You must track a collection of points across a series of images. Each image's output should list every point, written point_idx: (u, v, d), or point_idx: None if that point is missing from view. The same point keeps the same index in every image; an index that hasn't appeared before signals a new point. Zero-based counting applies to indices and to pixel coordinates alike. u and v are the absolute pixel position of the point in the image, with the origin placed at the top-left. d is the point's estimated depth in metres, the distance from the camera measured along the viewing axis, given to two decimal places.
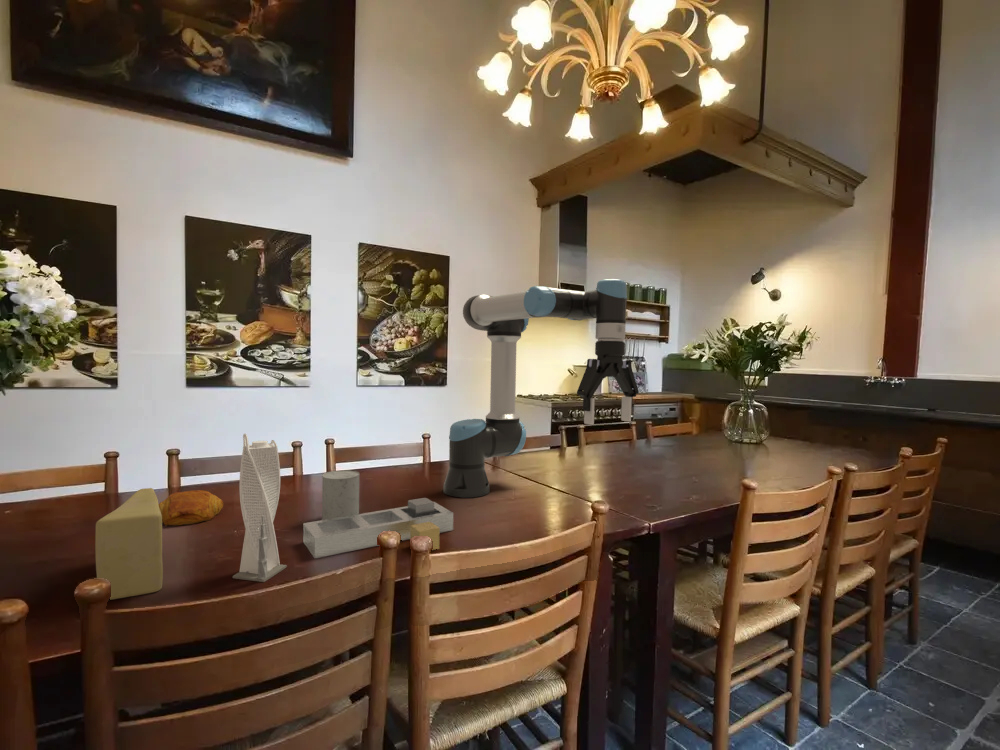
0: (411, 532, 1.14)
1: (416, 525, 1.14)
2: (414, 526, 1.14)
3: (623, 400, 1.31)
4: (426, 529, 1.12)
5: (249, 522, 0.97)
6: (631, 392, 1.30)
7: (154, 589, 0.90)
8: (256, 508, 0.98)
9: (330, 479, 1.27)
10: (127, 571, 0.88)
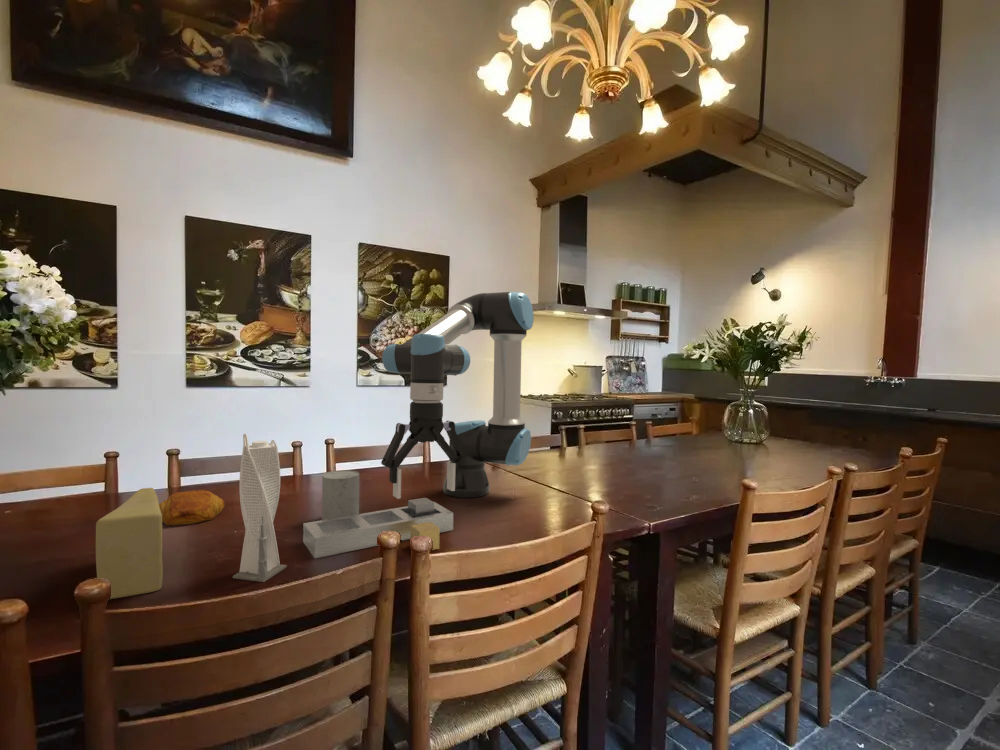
0: (411, 532, 1.14)
1: (416, 525, 1.14)
2: (414, 526, 1.14)
3: (448, 466, 1.17)
4: (426, 529, 1.12)
5: (249, 522, 0.97)
6: (455, 458, 1.16)
7: (154, 588, 0.90)
8: (256, 508, 0.98)
9: (330, 479, 1.27)
10: (127, 570, 0.88)
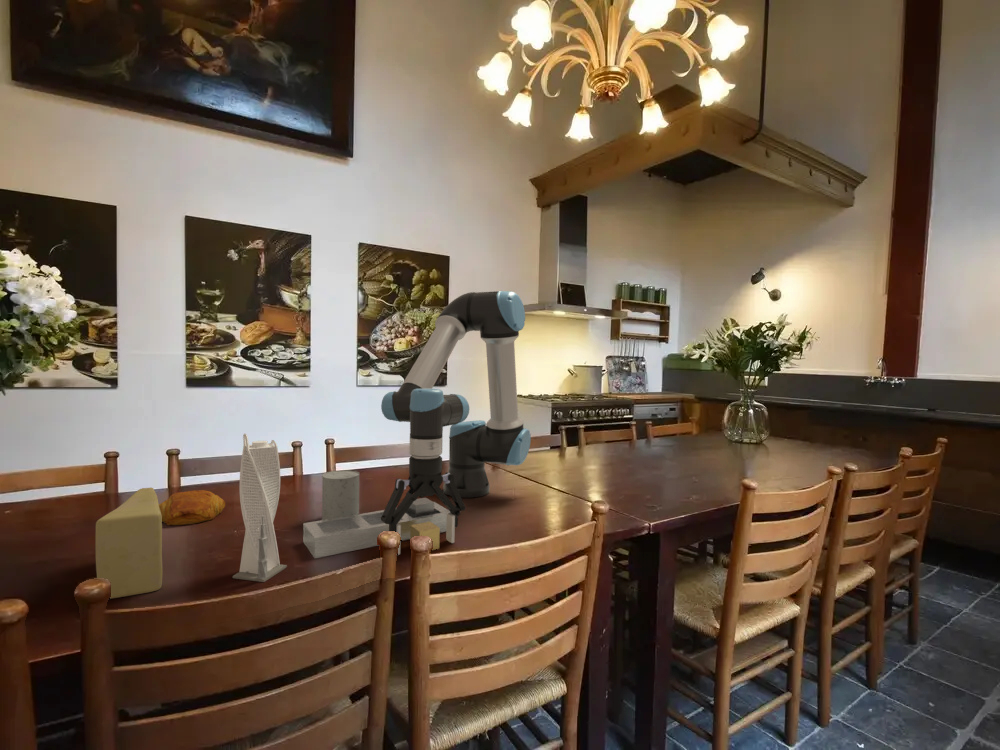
0: (411, 532, 1.14)
1: (416, 525, 1.14)
2: (414, 526, 1.14)
3: (448, 518, 1.18)
4: (426, 529, 1.12)
5: (249, 522, 0.97)
6: (454, 510, 1.17)
7: (154, 588, 0.90)
8: (256, 508, 0.98)
9: (330, 479, 1.27)
10: (127, 570, 0.88)
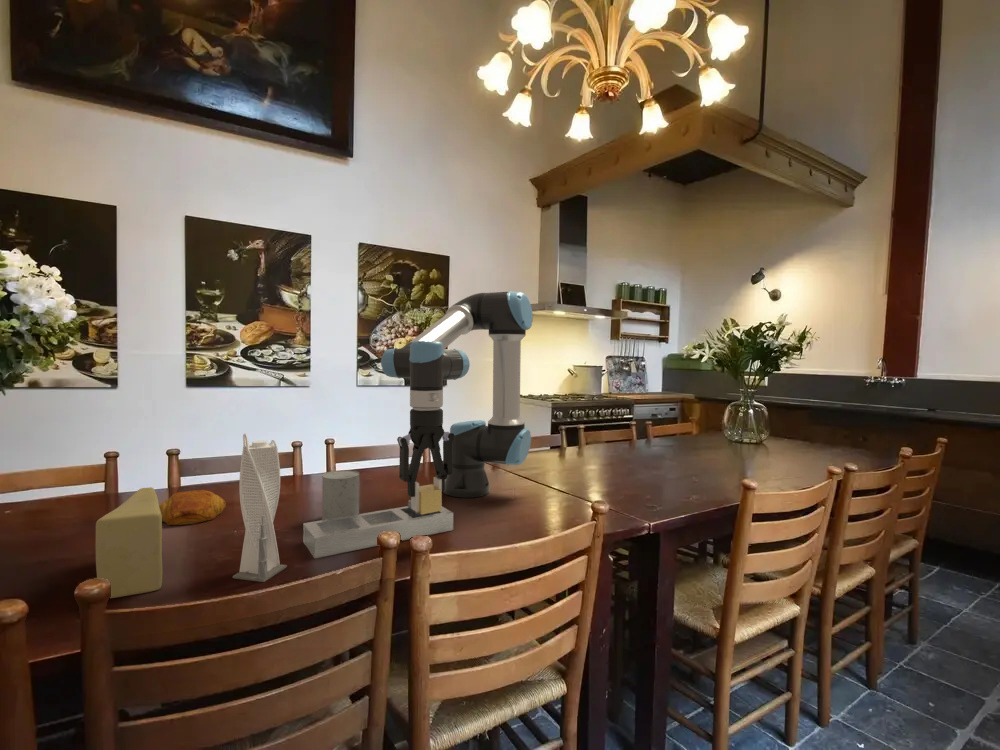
0: None
1: None
2: None
3: (435, 482, 1.16)
4: (428, 490, 1.12)
5: (249, 522, 0.97)
6: (442, 473, 1.15)
7: (154, 588, 0.90)
8: (256, 508, 0.98)
9: (330, 479, 1.27)
10: (127, 570, 0.88)
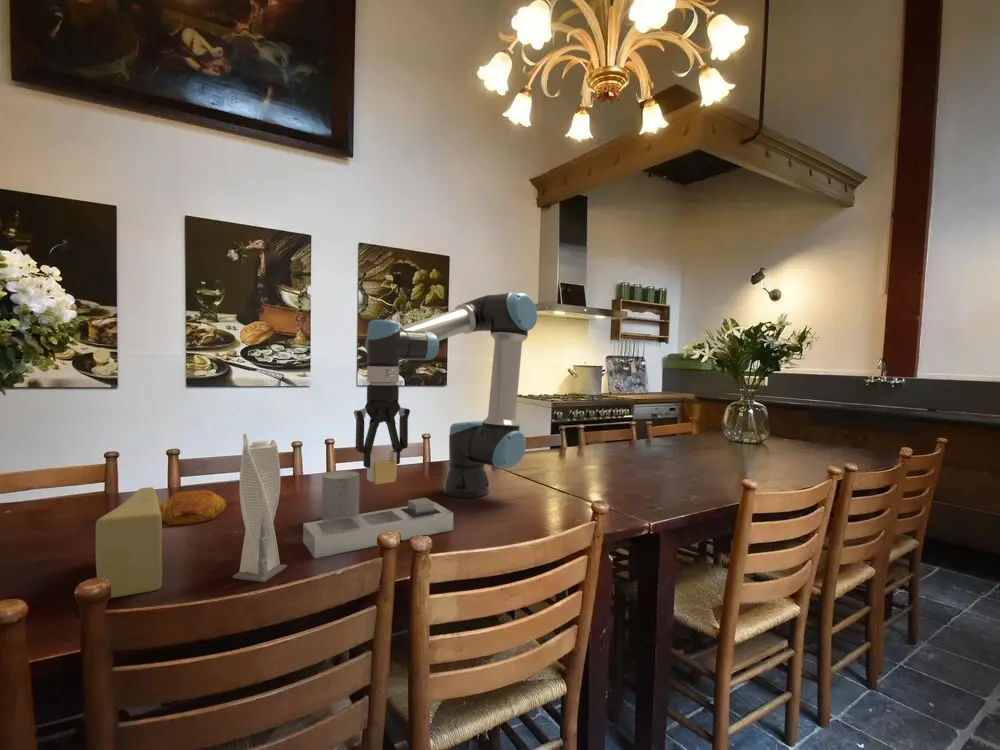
0: None
1: (374, 459, 1.20)
2: None
3: (390, 455, 1.22)
4: (382, 462, 1.18)
5: (249, 522, 0.97)
6: (397, 446, 1.21)
7: (153, 588, 0.91)
8: (256, 508, 0.98)
9: (330, 479, 1.27)
10: (127, 569, 0.89)
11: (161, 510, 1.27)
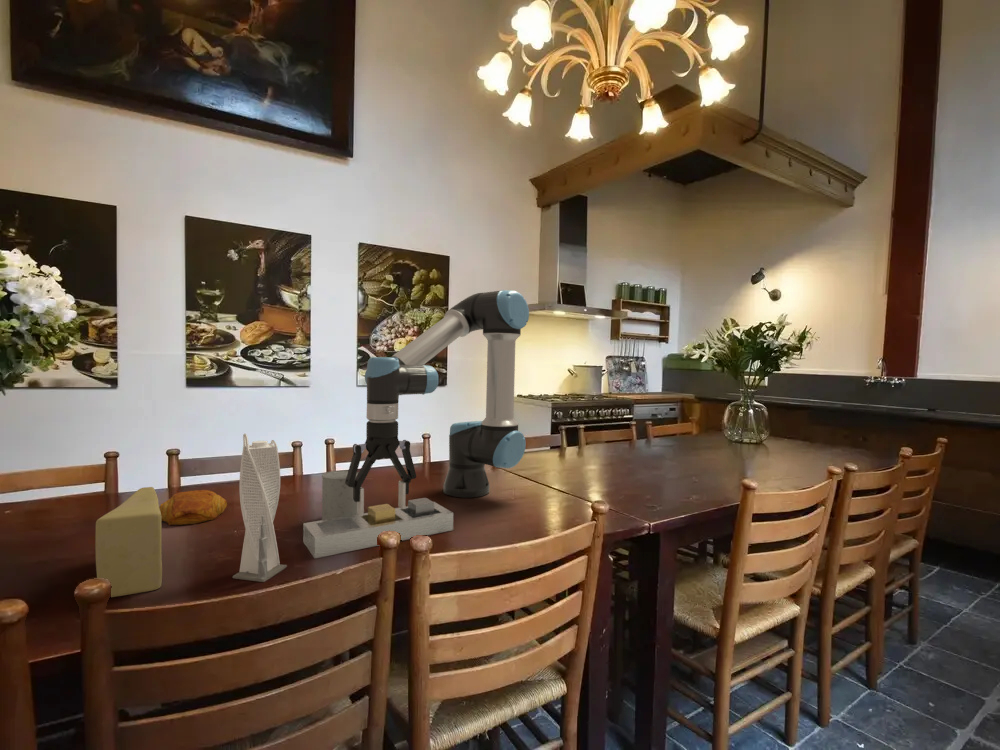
0: (368, 513, 1.21)
1: (373, 507, 1.21)
2: (371, 507, 1.20)
3: (399, 486, 1.23)
4: (382, 510, 1.18)
5: (249, 522, 0.97)
6: (406, 477, 1.22)
7: (153, 587, 0.91)
8: (256, 508, 0.98)
9: (330, 479, 1.27)
10: (127, 569, 0.89)
11: (162, 510, 1.27)
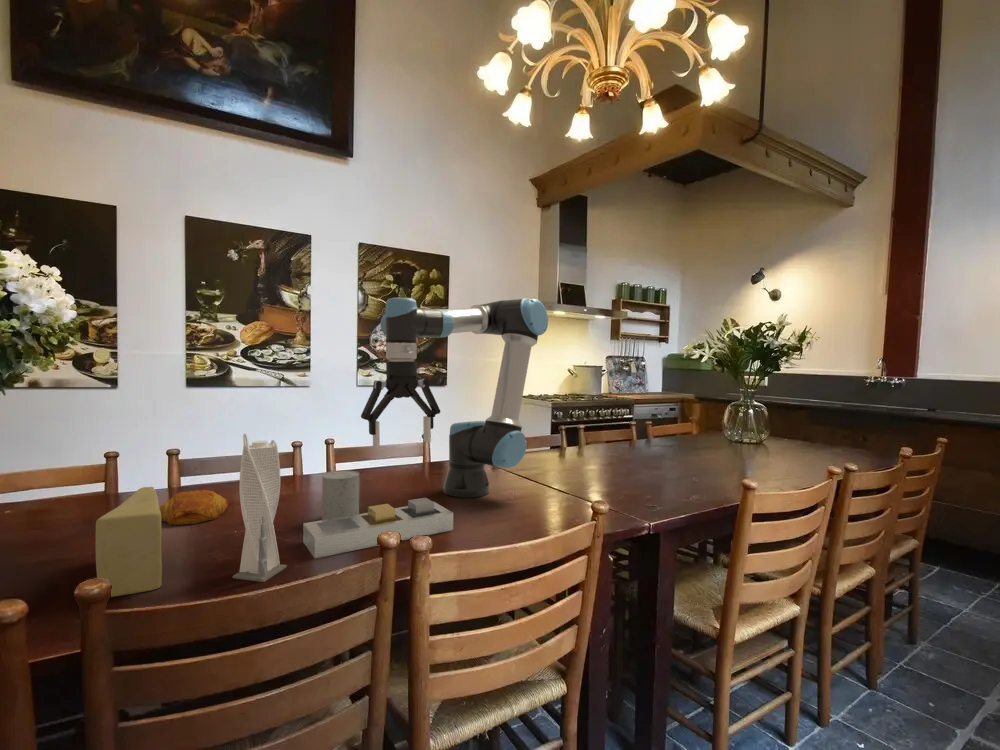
0: (368, 513, 1.21)
1: (373, 507, 1.21)
2: (371, 507, 1.20)
3: (424, 421, 1.28)
4: (382, 510, 1.18)
5: (249, 522, 0.97)
6: (430, 412, 1.26)
7: (153, 587, 0.91)
8: (256, 508, 0.98)
9: (330, 479, 1.27)
10: (127, 569, 0.89)
11: (162, 510, 1.27)
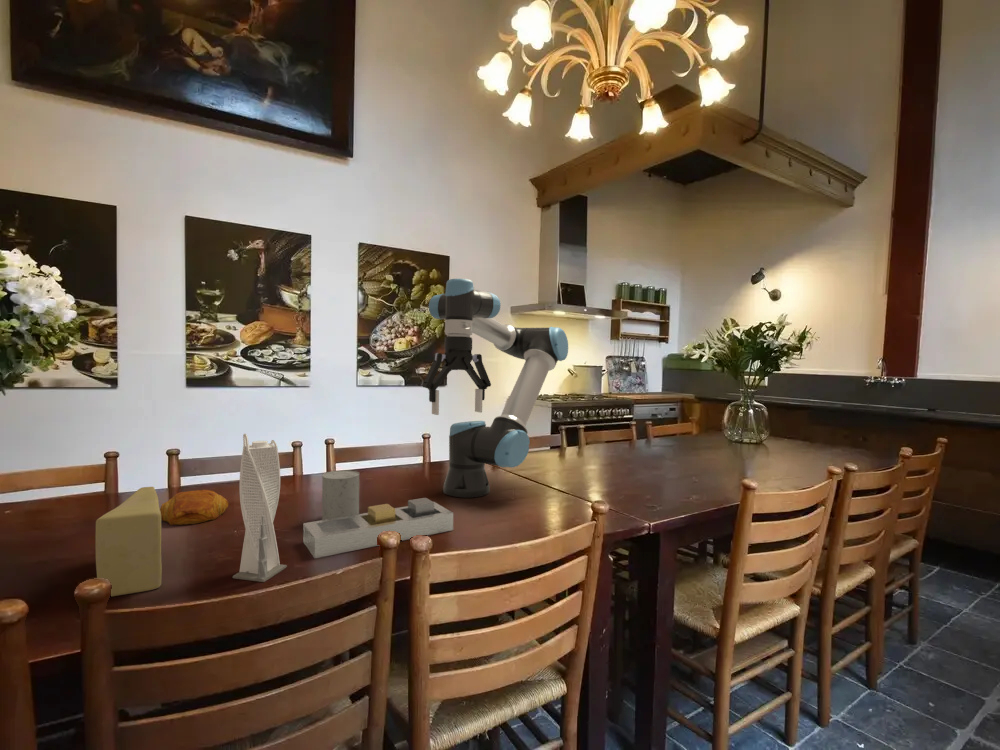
0: (368, 513, 1.21)
1: (373, 507, 1.21)
2: (371, 507, 1.20)
3: (476, 392, 1.40)
4: (382, 510, 1.18)
5: (249, 522, 0.97)
6: (482, 385, 1.39)
7: (153, 586, 0.91)
8: (256, 508, 0.98)
9: (330, 479, 1.27)
10: (127, 568, 0.89)
11: (163, 510, 1.27)
